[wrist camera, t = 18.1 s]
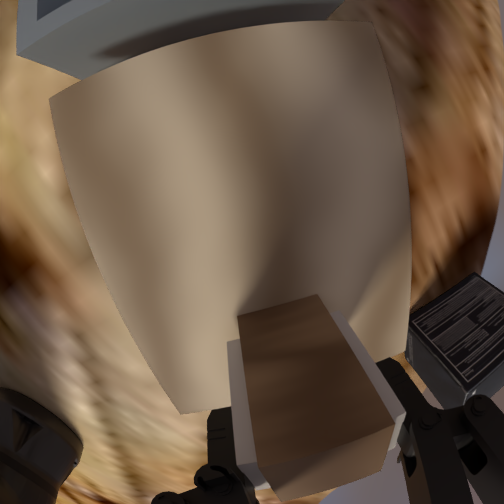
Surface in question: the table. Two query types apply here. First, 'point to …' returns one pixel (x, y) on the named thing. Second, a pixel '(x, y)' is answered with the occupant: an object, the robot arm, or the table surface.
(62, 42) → the toolbox
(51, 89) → the table surface
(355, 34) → the board with wooden block
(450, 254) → the table surface
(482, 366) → the small box
